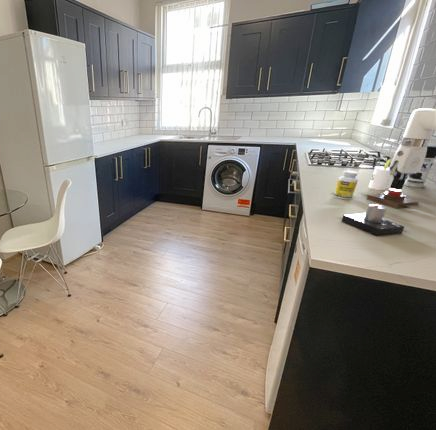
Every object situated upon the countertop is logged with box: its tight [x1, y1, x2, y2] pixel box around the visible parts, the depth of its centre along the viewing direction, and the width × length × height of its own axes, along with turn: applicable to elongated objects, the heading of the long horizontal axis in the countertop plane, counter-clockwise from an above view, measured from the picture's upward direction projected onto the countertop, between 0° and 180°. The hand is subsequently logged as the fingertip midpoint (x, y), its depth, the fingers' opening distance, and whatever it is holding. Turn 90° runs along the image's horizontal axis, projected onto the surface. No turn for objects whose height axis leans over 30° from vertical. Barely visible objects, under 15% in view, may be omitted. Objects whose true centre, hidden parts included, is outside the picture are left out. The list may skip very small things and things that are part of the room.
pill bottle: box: [333, 170, 359, 200], centre depth 121 cm, size 6×6×12 cm
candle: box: [368, 158, 392, 191], centre depth 131 cm, size 6×6×15 cm
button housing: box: [366, 190, 420, 210], centre depth 116 cm, size 12×10×4 cm
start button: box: [387, 188, 403, 196], centre depth 115 cm, size 4×4×2 cm
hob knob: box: [364, 203, 388, 223], centre depth 93 cm, size 4×4×5 cm
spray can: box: [403, 144, 436, 188], centre depth 134 cm, size 7×7×20 cm
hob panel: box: [340, 212, 405, 237], centre depth 94 cm, size 12×10×3 cm
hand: (395, 188), depth 114 cm, fingers closed
